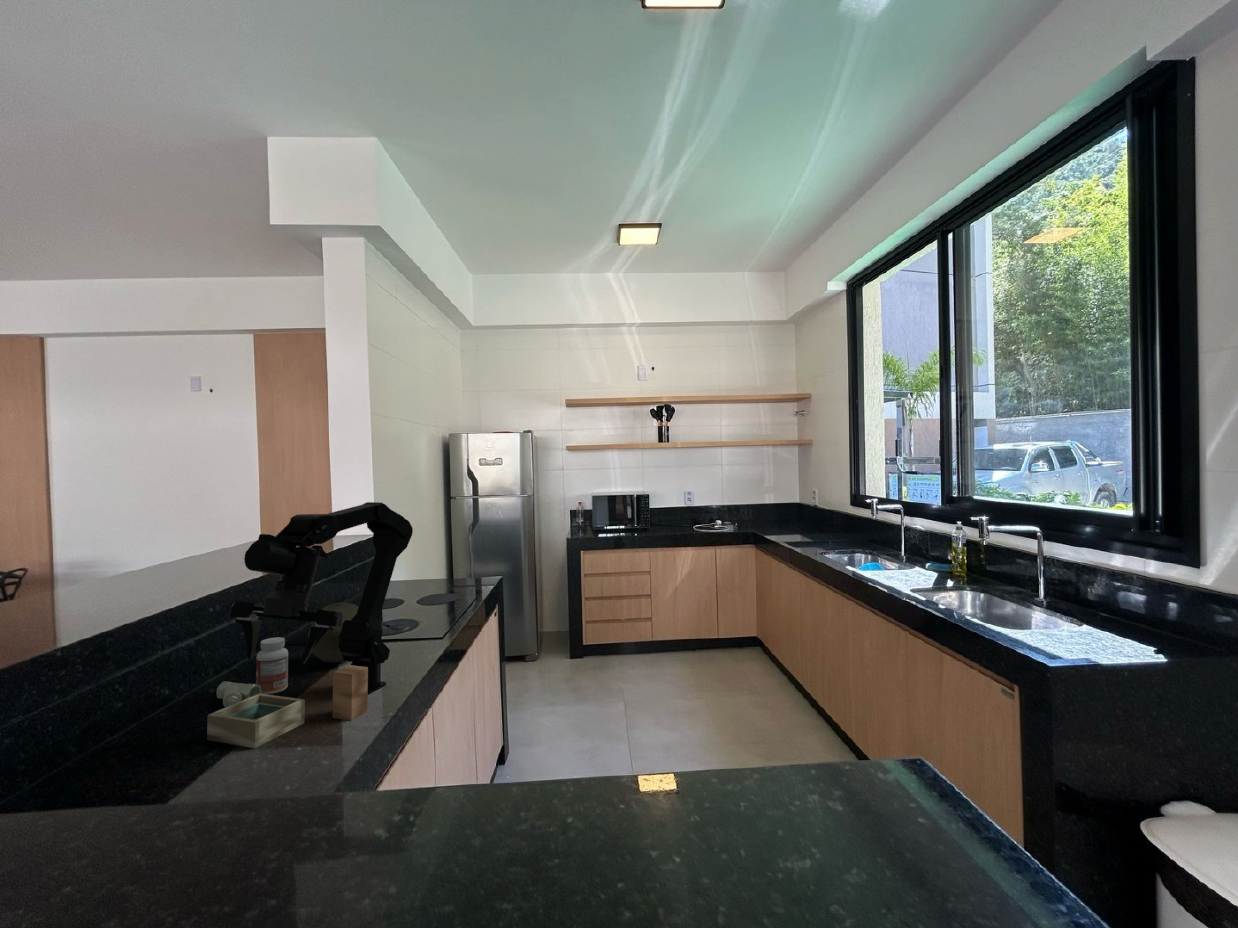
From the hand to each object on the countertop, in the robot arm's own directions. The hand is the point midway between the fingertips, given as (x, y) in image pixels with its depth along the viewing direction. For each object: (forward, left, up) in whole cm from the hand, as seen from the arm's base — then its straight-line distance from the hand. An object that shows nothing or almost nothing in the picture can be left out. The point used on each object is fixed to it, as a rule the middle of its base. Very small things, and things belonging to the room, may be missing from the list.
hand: (276, 661), depth 111 cm
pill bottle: (-16, -18, -13) cm, 28 cm away
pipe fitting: (-8, -20, -13) cm, 26 cm away
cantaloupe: (-36, -18, -13) cm, 43 cm away
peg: (-10, +8, -13) cm, 18 cm away
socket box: (+1, -3, -13) cm, 13 cm away
